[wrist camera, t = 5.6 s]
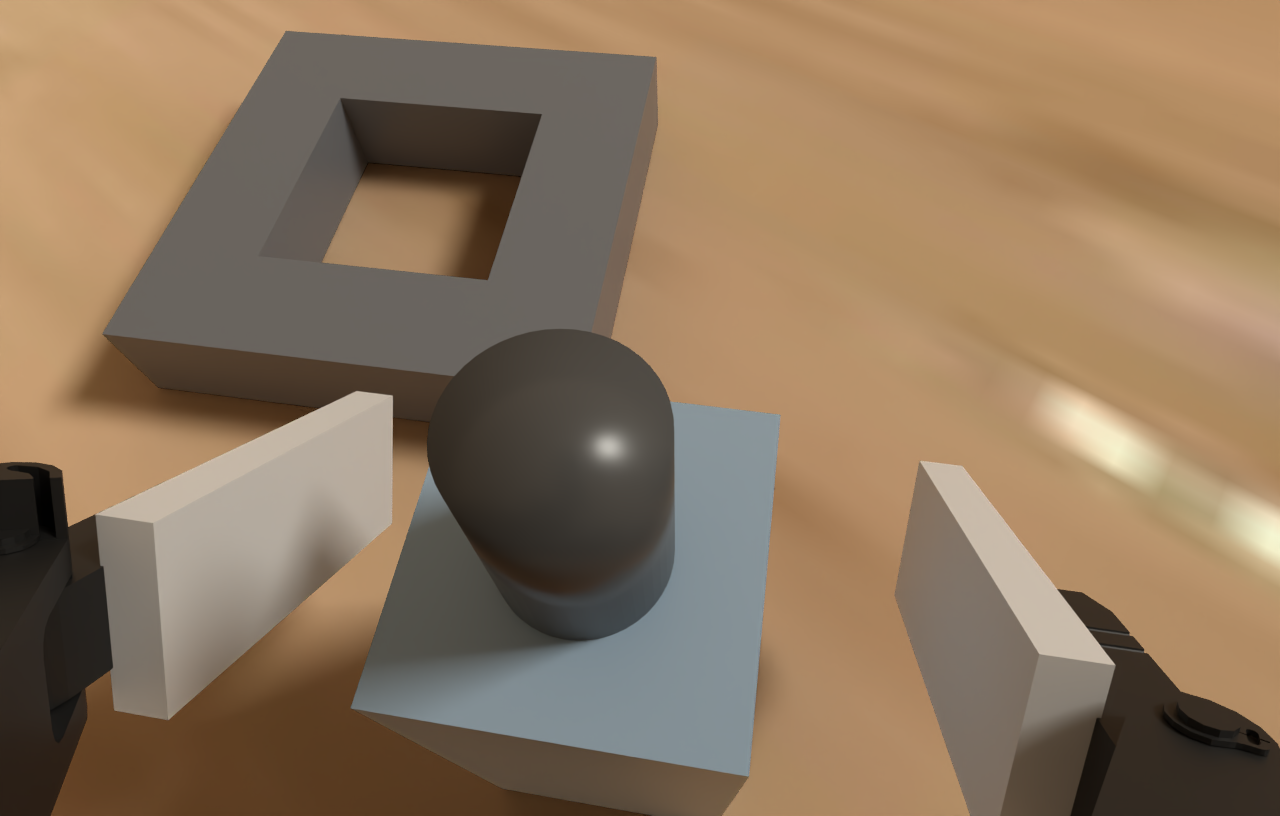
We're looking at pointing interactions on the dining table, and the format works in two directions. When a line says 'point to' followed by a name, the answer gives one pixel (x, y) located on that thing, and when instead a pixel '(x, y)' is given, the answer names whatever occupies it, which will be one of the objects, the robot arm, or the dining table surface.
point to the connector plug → (581, 582)
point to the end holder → (323, 186)
